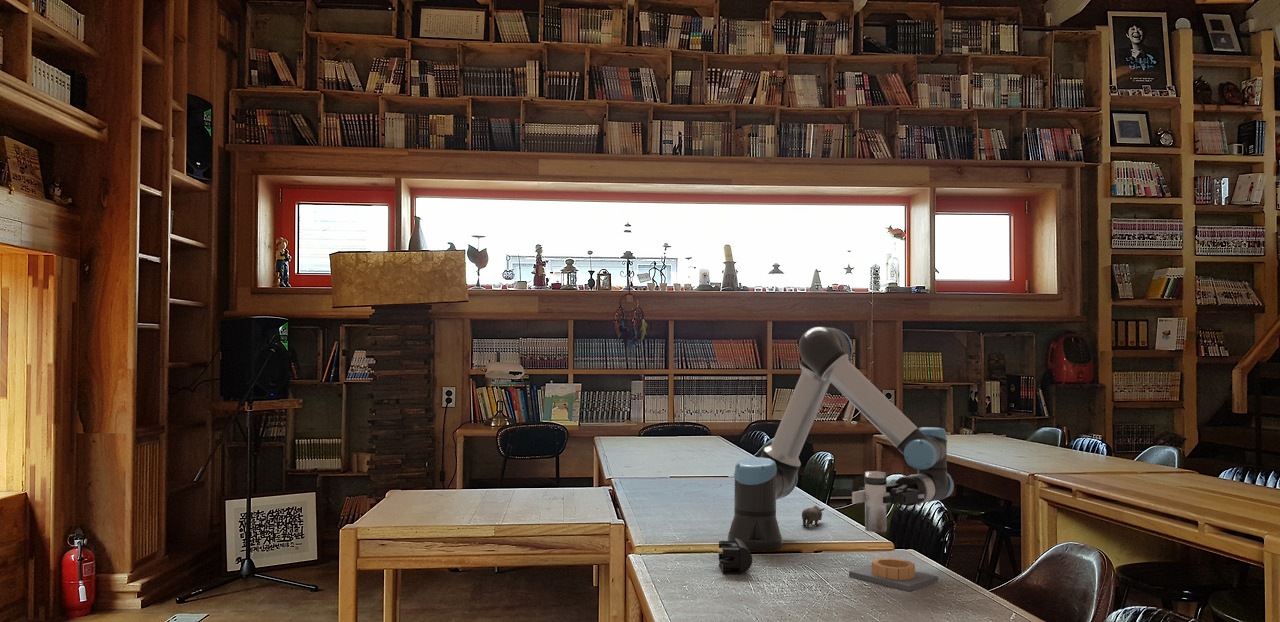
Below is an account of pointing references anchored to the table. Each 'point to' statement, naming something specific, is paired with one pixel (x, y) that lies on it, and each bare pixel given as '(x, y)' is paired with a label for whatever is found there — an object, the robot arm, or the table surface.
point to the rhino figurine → (811, 515)
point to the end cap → (734, 557)
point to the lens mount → (894, 574)
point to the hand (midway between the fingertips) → (863, 499)
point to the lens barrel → (873, 515)
